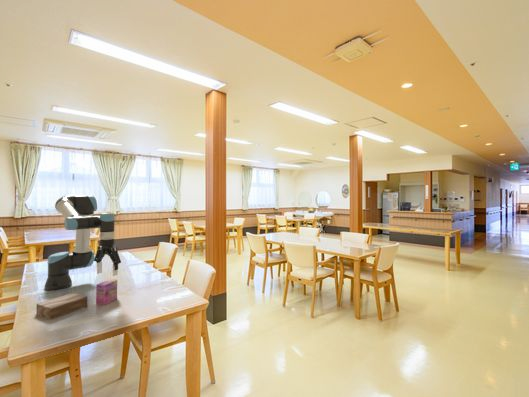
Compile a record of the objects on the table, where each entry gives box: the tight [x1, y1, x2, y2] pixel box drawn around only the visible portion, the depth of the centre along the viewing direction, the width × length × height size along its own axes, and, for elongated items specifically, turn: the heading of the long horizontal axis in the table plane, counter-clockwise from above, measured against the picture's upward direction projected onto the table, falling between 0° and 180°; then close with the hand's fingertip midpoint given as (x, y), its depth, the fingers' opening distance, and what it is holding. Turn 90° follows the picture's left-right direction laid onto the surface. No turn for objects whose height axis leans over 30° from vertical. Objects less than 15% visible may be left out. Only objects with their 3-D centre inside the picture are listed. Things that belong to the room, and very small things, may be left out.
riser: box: [36, 292, 88, 320], centre depth 146 cm, size 14×18×6 cm
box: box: [95, 278, 118, 306], centre depth 158 cm, size 10×6×12 cm, turn 168°
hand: (107, 274), depth 158 cm, fingers open, 13 cm apart
